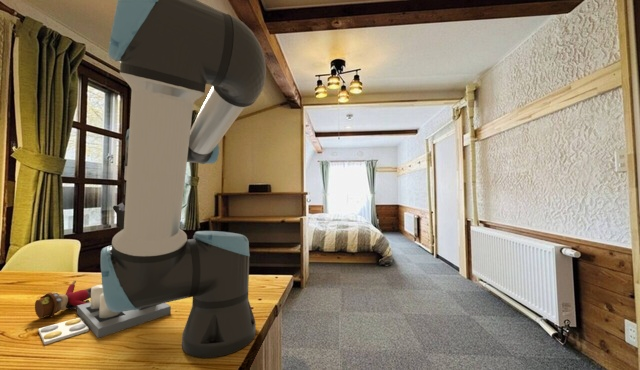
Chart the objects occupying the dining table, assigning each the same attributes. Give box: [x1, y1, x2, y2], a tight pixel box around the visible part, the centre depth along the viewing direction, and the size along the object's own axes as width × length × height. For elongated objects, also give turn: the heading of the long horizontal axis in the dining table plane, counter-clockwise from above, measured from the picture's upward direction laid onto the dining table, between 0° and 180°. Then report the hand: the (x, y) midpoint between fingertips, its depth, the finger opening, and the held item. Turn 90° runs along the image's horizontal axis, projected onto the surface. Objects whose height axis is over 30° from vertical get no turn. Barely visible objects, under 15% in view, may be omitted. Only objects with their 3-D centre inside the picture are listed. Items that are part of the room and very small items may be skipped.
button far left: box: [90, 284, 103, 309], centre depth 68 cm, size 4×4×5 cm
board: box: [76, 301, 172, 339], centre depth 69 cm, size 20×15×2 cm
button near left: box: [99, 293, 120, 318], centre depth 63 cm, size 4×4×5 cm
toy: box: [34, 280, 102, 319], centre depth 72 cm, size 11×7×15 cm
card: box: [38, 317, 90, 346], centre depth 60 cm, size 9×7×1 cm
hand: (137, 262), depth 75 cm, fingers closed
